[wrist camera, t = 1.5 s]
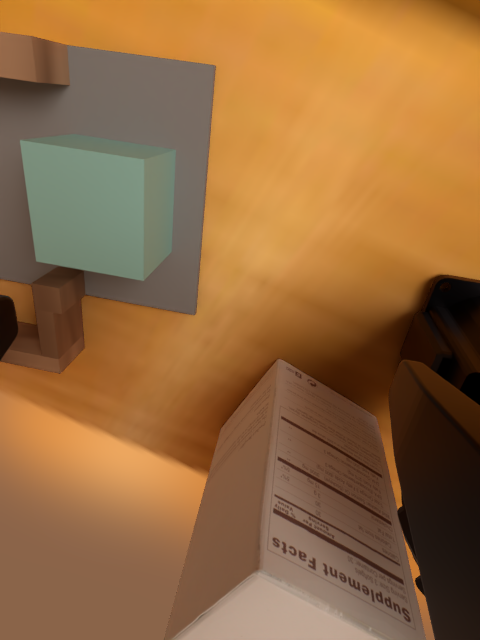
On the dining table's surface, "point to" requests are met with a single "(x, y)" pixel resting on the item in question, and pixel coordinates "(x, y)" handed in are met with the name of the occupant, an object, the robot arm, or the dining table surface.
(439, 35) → the dining table surface
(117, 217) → the block
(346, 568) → the supplement box
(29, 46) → the tunnel
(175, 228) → the grey board
